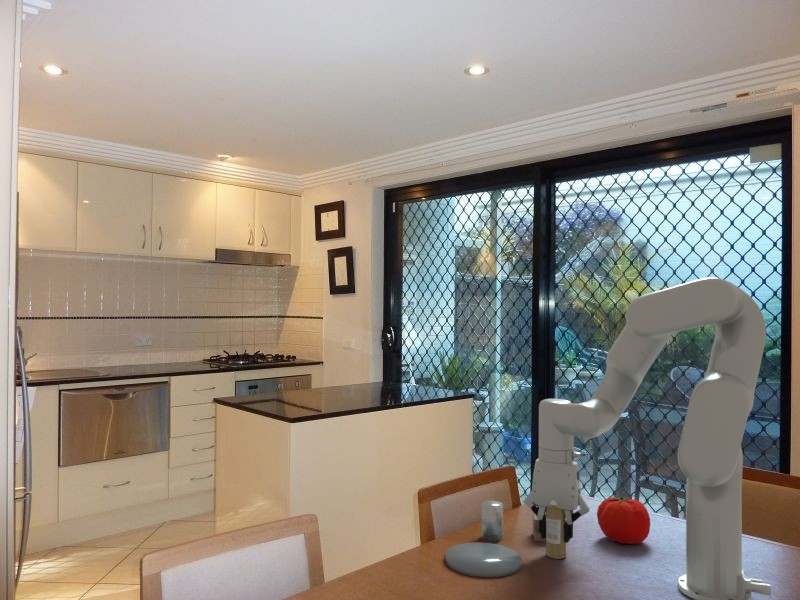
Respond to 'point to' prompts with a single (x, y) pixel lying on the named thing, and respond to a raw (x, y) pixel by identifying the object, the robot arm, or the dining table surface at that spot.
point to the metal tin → (492, 520)
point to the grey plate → (483, 559)
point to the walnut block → (536, 529)
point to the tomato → (624, 520)
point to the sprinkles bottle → (555, 532)
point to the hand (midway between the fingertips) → (555, 537)
